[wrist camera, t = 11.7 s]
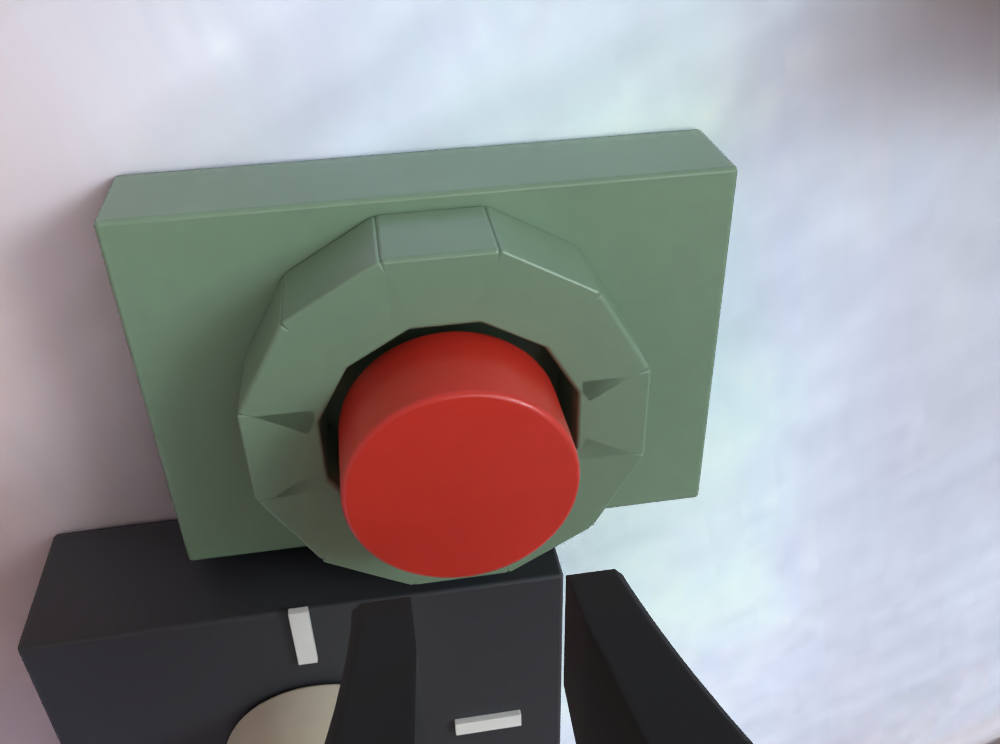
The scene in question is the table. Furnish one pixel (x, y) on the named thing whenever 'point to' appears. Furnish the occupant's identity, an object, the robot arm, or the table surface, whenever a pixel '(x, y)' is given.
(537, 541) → the button
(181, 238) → the button housing
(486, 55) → the table surface
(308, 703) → the knob
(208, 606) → the control panel
